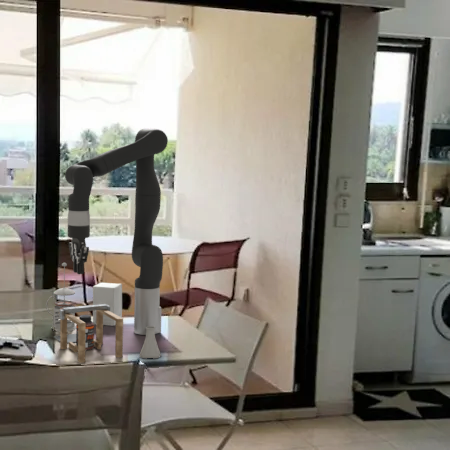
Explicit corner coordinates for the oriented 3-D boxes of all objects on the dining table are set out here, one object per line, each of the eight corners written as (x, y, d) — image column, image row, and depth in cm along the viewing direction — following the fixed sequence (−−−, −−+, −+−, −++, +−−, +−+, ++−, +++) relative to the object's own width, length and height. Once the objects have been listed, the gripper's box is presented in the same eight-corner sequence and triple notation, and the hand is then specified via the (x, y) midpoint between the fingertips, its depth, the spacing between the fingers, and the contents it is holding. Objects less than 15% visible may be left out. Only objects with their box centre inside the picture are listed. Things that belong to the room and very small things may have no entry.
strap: (107, 313, 267) (107, 303, 267) (110, 314, 265) (110, 304, 265) (59, 318, 259) (59, 308, 258) (61, 320, 257) (62, 309, 256)
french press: (74, 332, 284) (74, 265, 281) (43, 331, 284) (43, 264, 281) (79, 325, 294) (80, 260, 291) (49, 324, 294) (49, 259, 291)
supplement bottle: (89, 351, 260) (90, 318, 258) (73, 350, 261) (73, 317, 260) (96, 346, 266) (96, 314, 264) (80, 345, 267) (80, 313, 265)
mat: (80, 334, 281) (80, 333, 281) (90, 340, 273) (90, 339, 273) (53, 337, 276) (53, 336, 276) (62, 344, 268) (62, 343, 268)
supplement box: (122, 320, 302) (123, 283, 301) (114, 326, 294) (114, 287, 292) (101, 319, 304) (101, 281, 303) (92, 324, 296) (92, 286, 294)
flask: (139, 353, 260) (139, 324, 258) (160, 353, 260) (161, 324, 259) (138, 359, 253) (139, 329, 251) (161, 359, 253) (161, 330, 252)
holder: (100, 342, 270) (101, 306, 269) (122, 357, 255) (123, 318, 253) (60, 348, 263) (60, 310, 261) (79, 362, 247) (80, 323, 245)
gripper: (96, 225, 260) (96, 275, 262) (81, 220, 272) (81, 269, 274) (75, 226, 256) (75, 277, 258) (61, 221, 268) (61, 270, 270)
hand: (78, 272), depth 266 cm, fingers open, 3 cm apart
